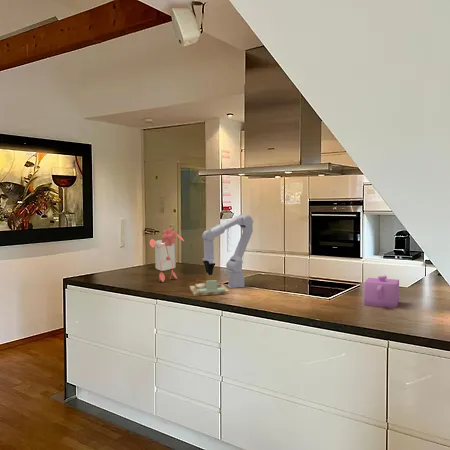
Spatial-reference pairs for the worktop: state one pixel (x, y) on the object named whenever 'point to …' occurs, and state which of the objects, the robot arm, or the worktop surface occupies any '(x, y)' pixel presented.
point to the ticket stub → (211, 287)
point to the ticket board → (202, 286)
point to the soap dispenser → (164, 256)
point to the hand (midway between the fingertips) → (209, 273)
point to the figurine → (168, 240)
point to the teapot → (381, 292)
